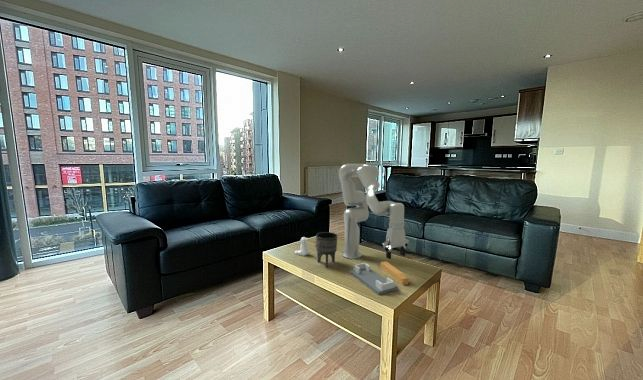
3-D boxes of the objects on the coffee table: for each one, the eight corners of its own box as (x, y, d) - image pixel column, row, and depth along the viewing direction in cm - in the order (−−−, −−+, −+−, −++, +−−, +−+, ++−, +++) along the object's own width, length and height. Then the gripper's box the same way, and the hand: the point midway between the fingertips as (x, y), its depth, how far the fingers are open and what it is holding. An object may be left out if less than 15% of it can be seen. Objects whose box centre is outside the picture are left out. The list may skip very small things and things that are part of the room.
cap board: (350, 273, 143) (350, 265, 142) (367, 269, 148) (368, 262, 148) (378, 294, 121) (378, 285, 120) (398, 289, 126) (398, 280, 125)
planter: (311, 265, 153) (311, 236, 151) (321, 257, 165) (322, 230, 163) (331, 269, 147) (331, 239, 145) (340, 261, 159) (341, 233, 157)
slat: (380, 267, 152) (380, 262, 151) (386, 267, 153) (386, 261, 152) (402, 285, 131) (402, 278, 130) (409, 284, 132) (409, 278, 131)
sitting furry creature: (305, 250, 177) (305, 233, 176) (313, 254, 171) (313, 236, 170) (293, 254, 171) (293, 236, 170) (301, 257, 165) (301, 239, 163)
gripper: (403, 222, 145) (402, 252, 147) (378, 226, 138) (378, 257, 139) (413, 225, 138) (412, 256, 140) (388, 229, 131) (387, 261, 133)
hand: (395, 256), depth 140 cm, fingers open, 9 cm apart
